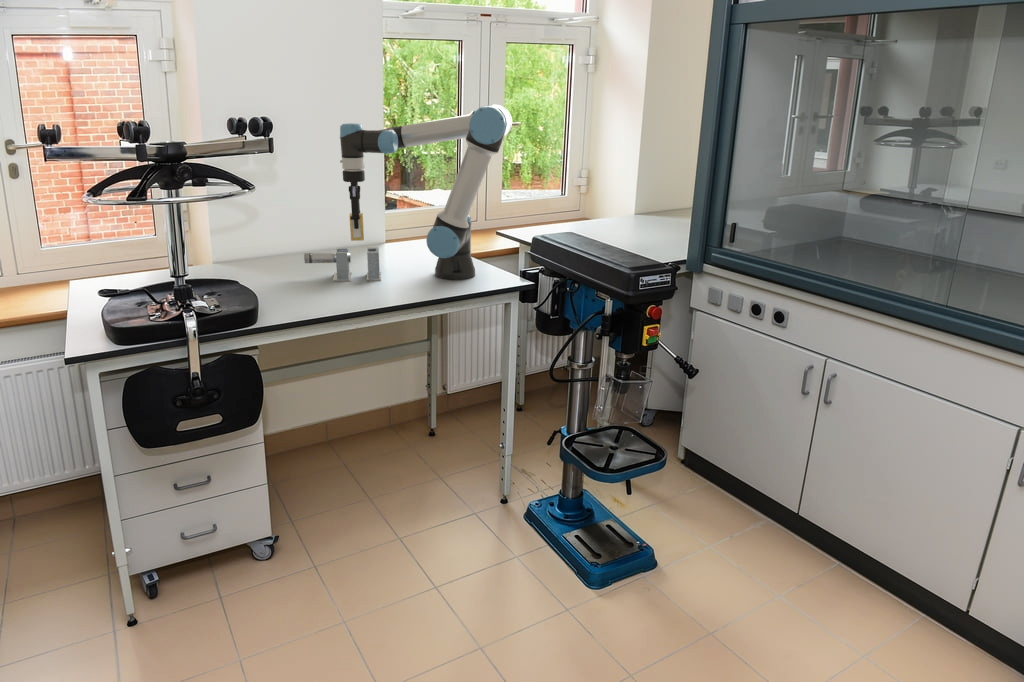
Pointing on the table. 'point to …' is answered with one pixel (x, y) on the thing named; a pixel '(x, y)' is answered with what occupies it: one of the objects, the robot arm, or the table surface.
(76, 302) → the table surface
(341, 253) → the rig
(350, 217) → the spacer
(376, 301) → the table surface
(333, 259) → the shaft
